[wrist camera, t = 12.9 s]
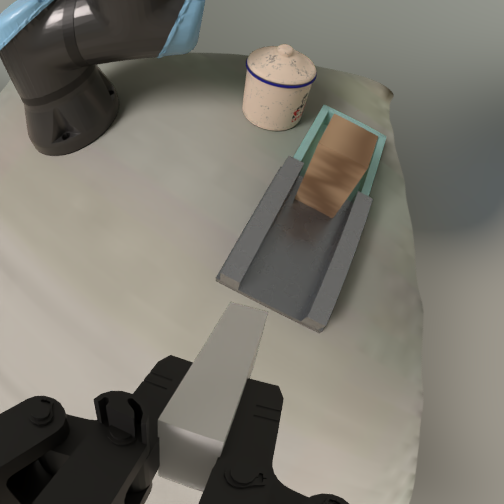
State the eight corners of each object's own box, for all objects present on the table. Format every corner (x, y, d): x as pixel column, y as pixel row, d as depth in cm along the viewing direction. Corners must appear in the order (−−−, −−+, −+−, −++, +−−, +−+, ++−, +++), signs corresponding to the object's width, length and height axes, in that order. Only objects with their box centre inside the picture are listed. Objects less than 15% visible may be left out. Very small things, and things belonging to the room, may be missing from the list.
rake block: (294, 198, 36) (318, 142, 26) (309, 169, 37) (334, 113, 28) (332, 218, 35) (367, 168, 26) (345, 188, 37) (378, 136, 28)
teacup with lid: (302, 138, 41) (325, 73, 30) (237, 128, 40) (244, 59, 29) (301, 87, 45) (318, 30, 34) (245, 78, 44) (253, 18, 34)
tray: (286, 174, 38) (291, 160, 35) (318, 118, 42) (324, 104, 40) (357, 211, 37) (367, 199, 34) (378, 149, 42) (386, 136, 39)
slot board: (215, 280, 32) (215, 270, 29) (279, 171, 38) (284, 153, 35) (318, 333, 31) (330, 328, 28) (364, 214, 37) (376, 201, 34)
